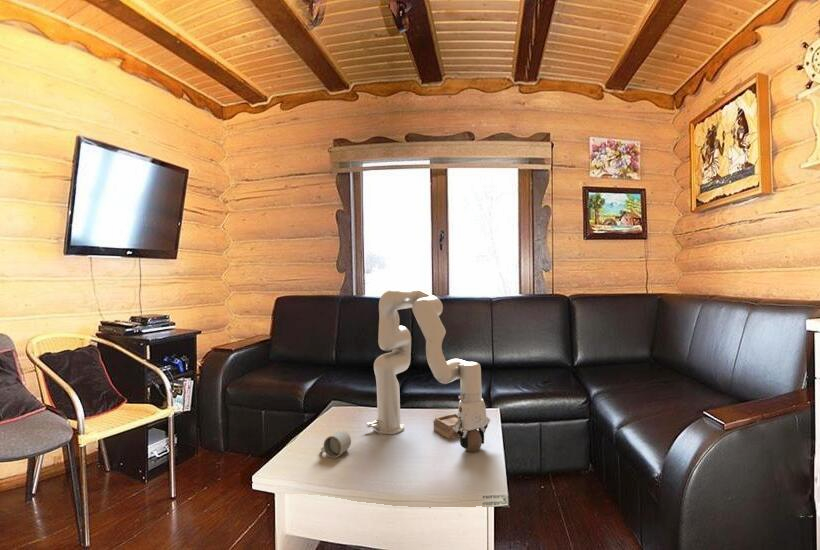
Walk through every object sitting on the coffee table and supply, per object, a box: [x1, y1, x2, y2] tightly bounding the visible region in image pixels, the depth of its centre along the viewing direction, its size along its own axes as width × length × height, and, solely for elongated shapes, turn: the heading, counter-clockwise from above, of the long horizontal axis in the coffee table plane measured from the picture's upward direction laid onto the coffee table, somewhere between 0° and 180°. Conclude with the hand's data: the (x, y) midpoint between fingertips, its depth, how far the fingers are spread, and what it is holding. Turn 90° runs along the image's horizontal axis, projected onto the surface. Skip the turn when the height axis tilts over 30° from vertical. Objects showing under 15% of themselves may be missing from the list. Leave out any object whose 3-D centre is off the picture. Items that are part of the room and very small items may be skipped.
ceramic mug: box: [320, 430, 352, 459], centre depth 150 cm, size 11×8×8 cm
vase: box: [465, 429, 483, 453], centre depth 149 cm, size 7×7×9 cm
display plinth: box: [433, 413, 464, 440], centre depth 166 cm, size 11×11×5 cm
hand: (472, 444), depth 149 cm, fingers closed on vase, 6 cm apart
